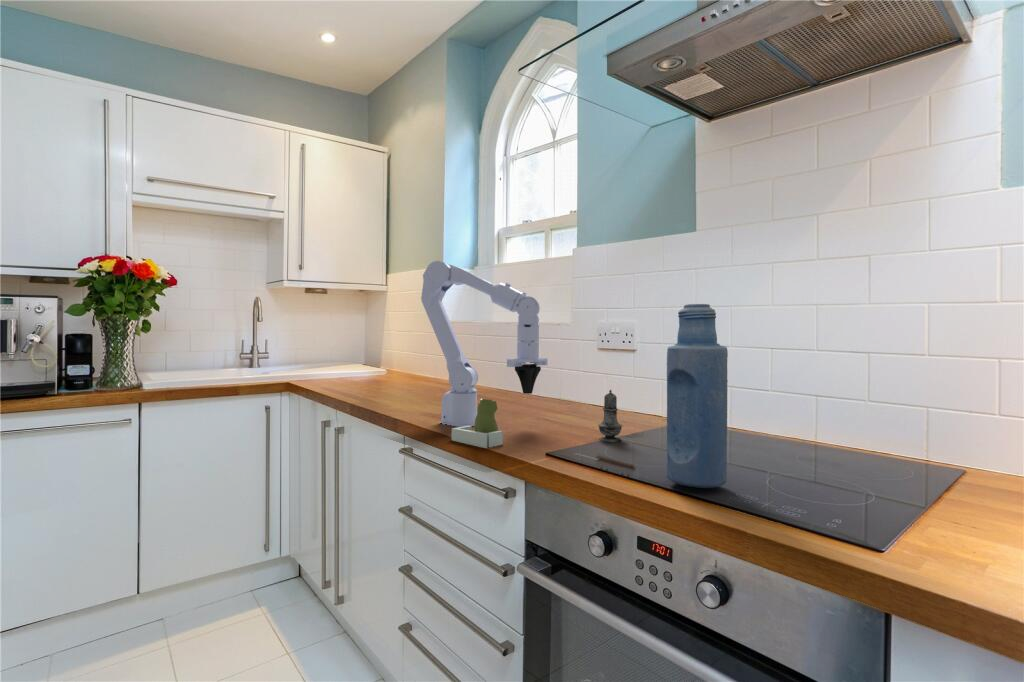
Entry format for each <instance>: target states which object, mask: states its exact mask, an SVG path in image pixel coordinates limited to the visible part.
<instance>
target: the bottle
mask: <svg viewBox="0 0 1024 682" xmlns="http://www.w3.org/2000/svg"><path fill="white" fill-rule="evenodd" d="M677 317H678V324H679V325H678V330H677V331H678V332H677V336H676V337H677V341H676V343H675V344H674V345H670V346H668V347H667V351H666V478H667V479H668V480H669V481H671V482H672V483H674V484H677V485H681V486H685V487H693V488H697V489H698V488H700V489H701V488H702V489H703V488H704V489H708V488H718V487H722V486H724V485H725V484H727V478H728V476H727V473H728V471H727V467H728V466H727V465H728V463H727V462H728V460H727V454H728V453H727V448H728V447H727V446H728V442H727V441H728V440H727V439H728V438H727V437H728V358H729V357H728V356H729V355H728V354H729V353H728V348H727V346H724V345H721V344H720V343H718V335H717V329H716V318H717V313H716V311H715V308H712V307H711V306H710V304H709V303H707V304H706V303H691V304H690V303H689V304H688V303H687V304H685V305H683V308H681V309H680V310H679V311H678V315H677Z"/></svg>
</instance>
